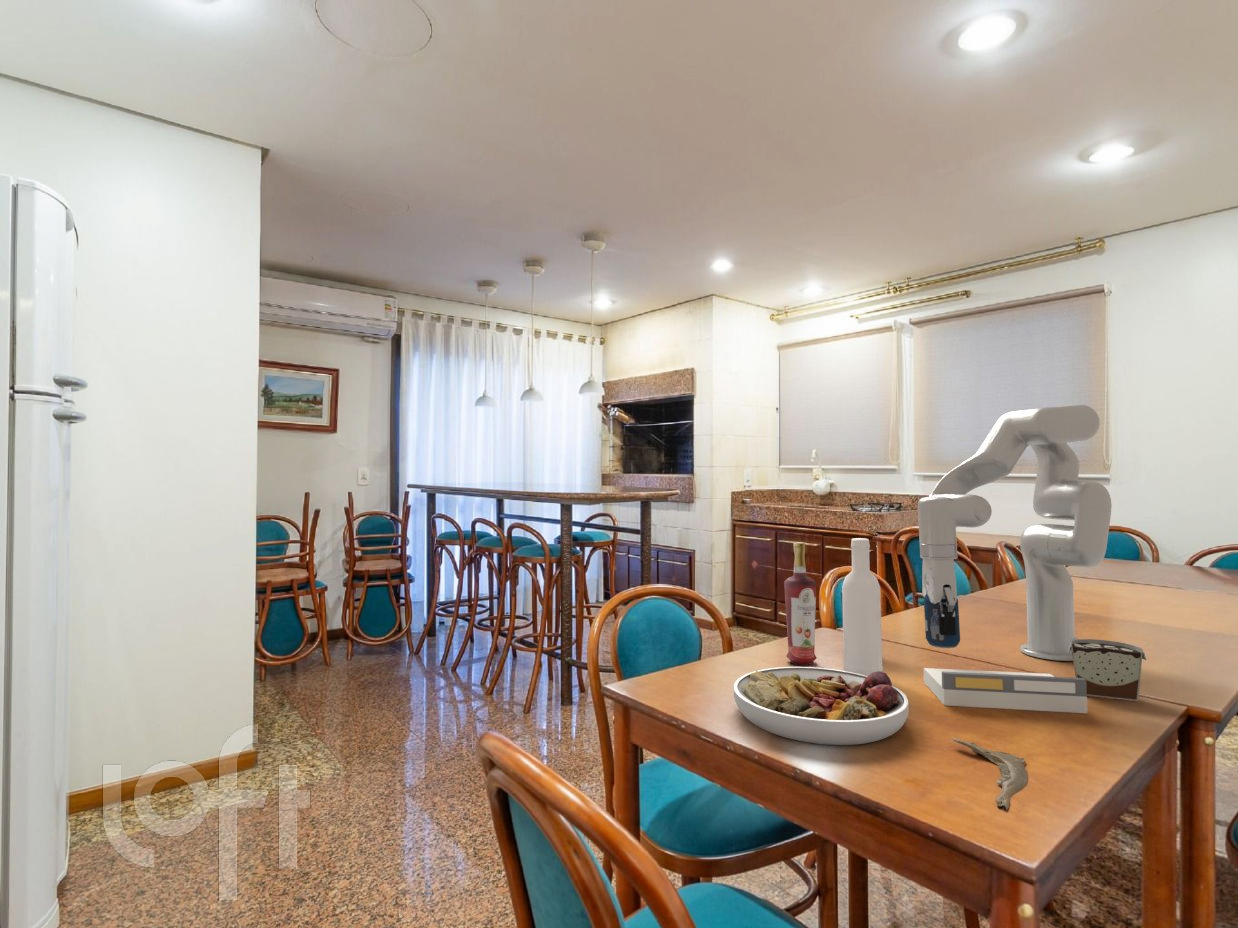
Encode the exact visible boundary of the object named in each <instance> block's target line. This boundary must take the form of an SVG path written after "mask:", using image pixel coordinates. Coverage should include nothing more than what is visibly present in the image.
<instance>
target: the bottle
mask: <svg viewBox="0 0 1238 928" xmlns="http://www.w3.org/2000/svg"><path fill="white" fill-rule="evenodd" d="M850 548H851V571H850V572H849V573H848V574H846V576H844V580H843V582H842V586H841V587H842V590H841V591H842V603H843V617H842V638H843V639H842V641H843V643H842V644H843V649H842V650H843V651H842V652H843V653H842V655H843V663H842V668H843V669H842V671H848V672H853V673H857V674H862V675H865V676H868V675H870V674H871V673H873V672H877V671H881V672H884V670H883V667H884V666H883V651H882V650H883V649H882V647H883V646H882V642H883V641H882V608H881V607H882V606H881V605H882V603H881V601H882V600H881V599H882V597H881V585H880V583H879V581H878V578H877V576H875V575H874V574H873V573H872V572H871V569H870V568H871V567H870V563H871V562H870V548H871V544H870V540H869V538H866V537H864V538H863V537H862V538H861V537H858V538H857V537H856V538H853V537H852V538H851V544H850Z"/></svg>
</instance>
